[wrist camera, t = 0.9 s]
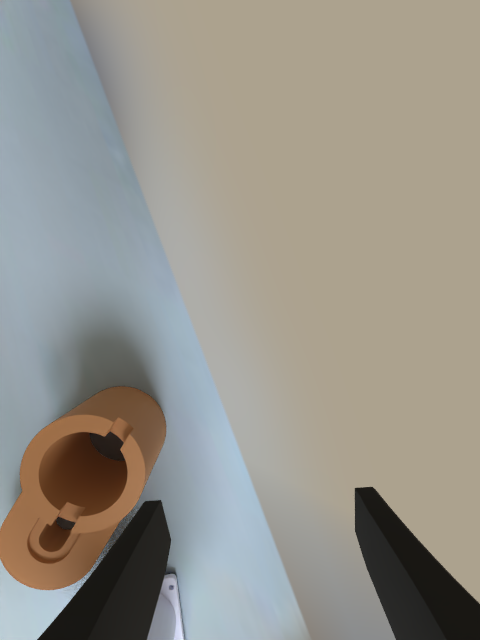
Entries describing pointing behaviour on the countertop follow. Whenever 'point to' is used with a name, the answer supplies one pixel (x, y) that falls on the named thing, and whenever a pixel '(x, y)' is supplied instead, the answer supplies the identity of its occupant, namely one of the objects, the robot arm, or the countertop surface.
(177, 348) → the countertop surface
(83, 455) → the bracket
